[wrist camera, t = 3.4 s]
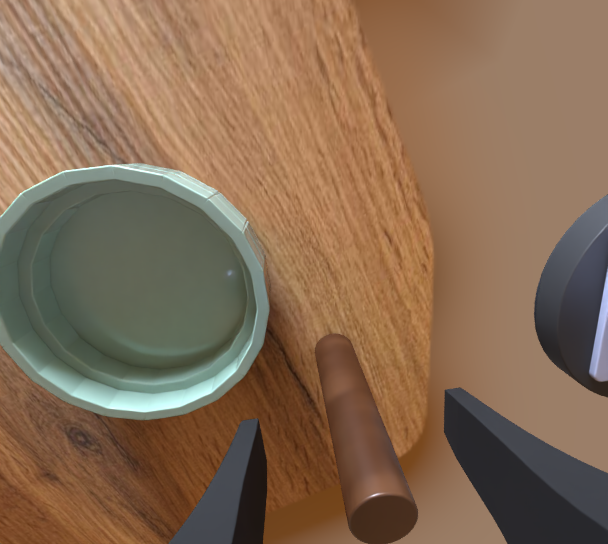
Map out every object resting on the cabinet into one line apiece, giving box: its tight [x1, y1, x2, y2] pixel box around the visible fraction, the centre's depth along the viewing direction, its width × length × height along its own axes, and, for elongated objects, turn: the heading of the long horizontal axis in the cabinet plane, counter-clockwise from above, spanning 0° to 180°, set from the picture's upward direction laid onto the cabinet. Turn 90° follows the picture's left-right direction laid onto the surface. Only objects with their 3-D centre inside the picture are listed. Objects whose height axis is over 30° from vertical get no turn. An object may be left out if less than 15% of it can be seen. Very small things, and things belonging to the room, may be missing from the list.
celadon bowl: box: [0, 163, 270, 420], centre depth 15 cm, size 11×11×3 cm
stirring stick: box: [315, 334, 418, 544], centre depth 14 cm, size 2×2×9 cm
